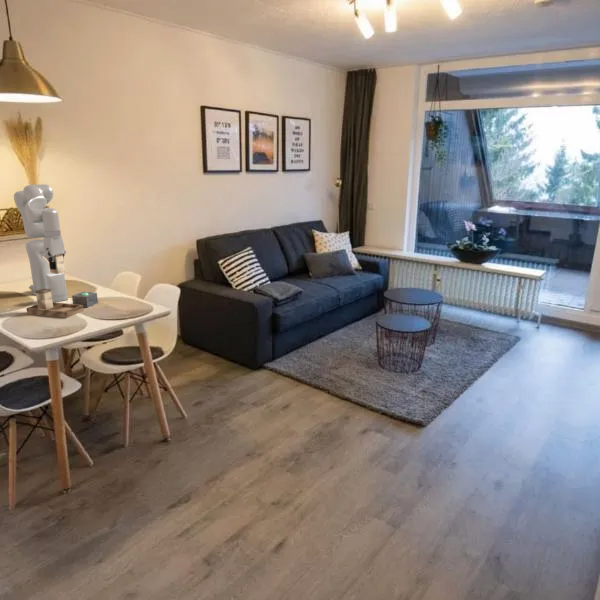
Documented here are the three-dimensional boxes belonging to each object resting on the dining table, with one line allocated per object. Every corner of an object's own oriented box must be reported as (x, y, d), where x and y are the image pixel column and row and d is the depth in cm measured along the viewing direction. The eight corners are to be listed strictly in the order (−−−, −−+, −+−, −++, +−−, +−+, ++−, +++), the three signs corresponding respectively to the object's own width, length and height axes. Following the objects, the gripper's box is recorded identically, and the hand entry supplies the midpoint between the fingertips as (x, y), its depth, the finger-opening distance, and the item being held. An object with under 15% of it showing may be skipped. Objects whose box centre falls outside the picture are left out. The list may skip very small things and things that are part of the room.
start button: (79, 302, 265) (78, 294, 264) (84, 300, 269) (83, 292, 268) (86, 303, 264) (85, 294, 263) (90, 301, 268) (89, 292, 267)
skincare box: (64, 297, 280) (61, 271, 275) (68, 300, 275) (65, 273, 271) (48, 300, 274) (45, 273, 270) (52, 302, 269) (49, 275, 265)
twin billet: (38, 309, 253) (35, 290, 250) (45, 306, 258) (42, 288, 255) (46, 310, 252) (43, 291, 249) (53, 307, 256) (50, 289, 254)
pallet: (27, 313, 250) (26, 308, 249) (45, 306, 262) (44, 301, 262) (66, 317, 245) (66, 312, 244) (83, 310, 257) (83, 305, 256)
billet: (50, 273, 254) (47, 254, 252) (56, 271, 259) (54, 252, 256) (58, 273, 253) (55, 254, 251) (65, 271, 258) (62, 253, 255)
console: (73, 306, 264) (71, 295, 262) (84, 301, 272) (82, 291, 271) (87, 307, 262) (86, 297, 260) (97, 303, 270) (96, 292, 269)
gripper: (58, 231, 259) (62, 264, 264) (34, 235, 244) (39, 271, 248) (70, 232, 258) (74, 265, 263) (46, 236, 242) (51, 271, 247)
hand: (57, 267), depth 255 cm, fingers closed on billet, 5 cm apart
